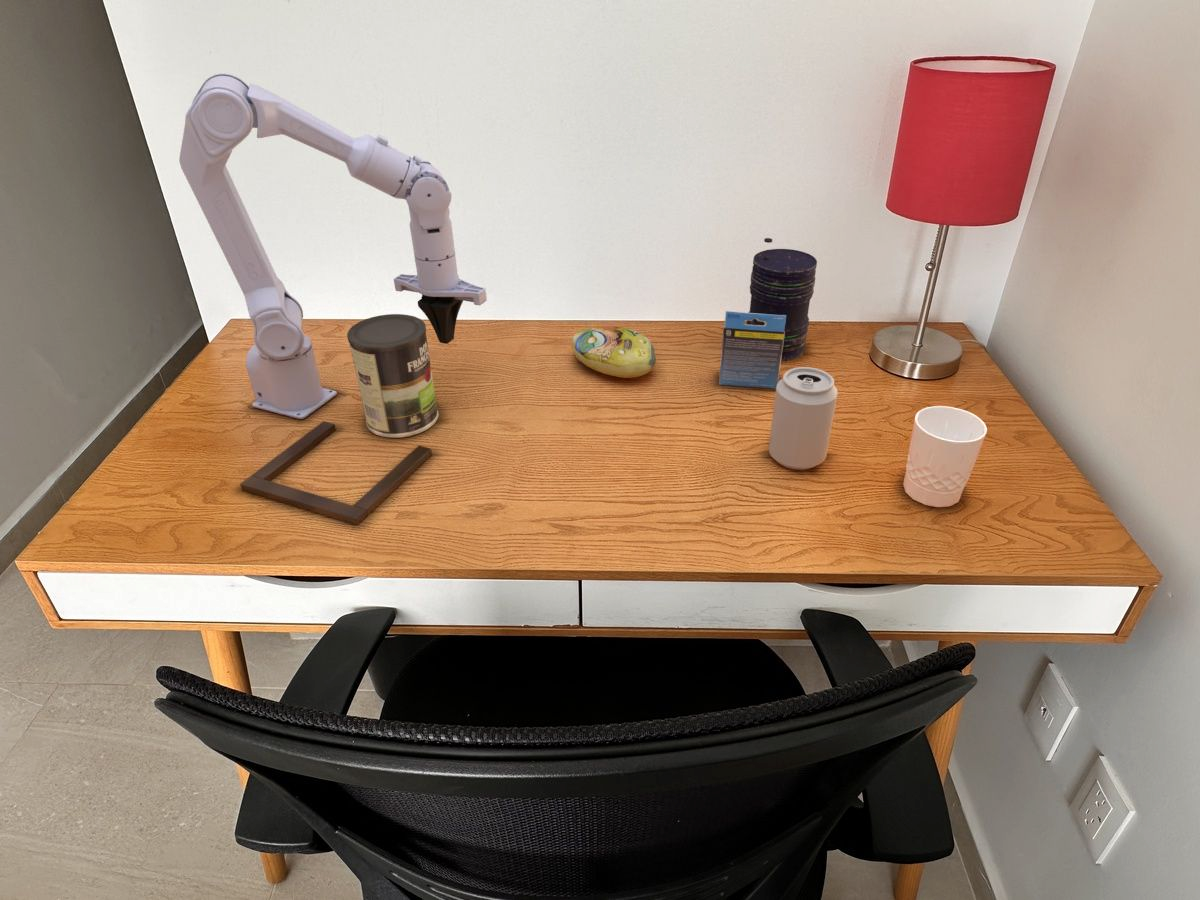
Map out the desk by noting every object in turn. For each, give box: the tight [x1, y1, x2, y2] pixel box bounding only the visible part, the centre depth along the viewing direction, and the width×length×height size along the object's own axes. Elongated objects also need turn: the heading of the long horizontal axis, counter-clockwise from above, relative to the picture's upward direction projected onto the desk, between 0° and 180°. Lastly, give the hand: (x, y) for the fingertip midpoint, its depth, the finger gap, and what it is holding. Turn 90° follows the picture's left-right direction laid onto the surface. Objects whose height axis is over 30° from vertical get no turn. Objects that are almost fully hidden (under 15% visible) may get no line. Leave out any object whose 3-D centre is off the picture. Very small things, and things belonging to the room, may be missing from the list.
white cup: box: [902, 405, 988, 508], centre depth 96 cm, size 8×8×10 cm
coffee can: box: [346, 313, 440, 439], centre depth 110 cm, size 10×10×14 cm
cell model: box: [571, 325, 657, 379], centre depth 125 cm, size 11×8×15 cm
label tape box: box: [718, 310, 786, 390], centre depth 118 cm, size 9×4×12 cm, turn 80°
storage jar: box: [745, 237, 818, 362], centre depth 126 cm, size 10×10×18 cm
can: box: [768, 366, 839, 471], centre depth 101 cm, size 8×8×12 cm
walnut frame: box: [239, 420, 433, 526], centre depth 103 cm, size 18×16×1 cm
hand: (446, 340), depth 120 cm, fingers closed
